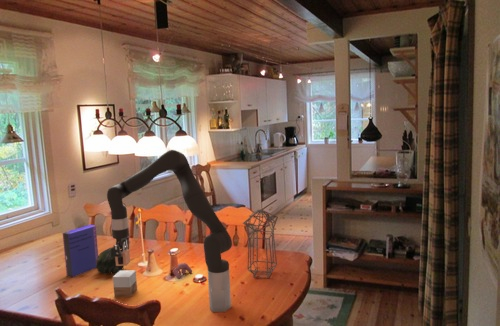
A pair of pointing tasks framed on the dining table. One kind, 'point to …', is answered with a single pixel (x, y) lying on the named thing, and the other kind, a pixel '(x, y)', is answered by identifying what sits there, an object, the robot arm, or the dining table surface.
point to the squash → (107, 262)
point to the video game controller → (183, 267)
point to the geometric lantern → (261, 238)
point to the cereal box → (80, 250)
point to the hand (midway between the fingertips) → (123, 261)
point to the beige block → (124, 258)
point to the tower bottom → (125, 291)
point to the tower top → (124, 278)
